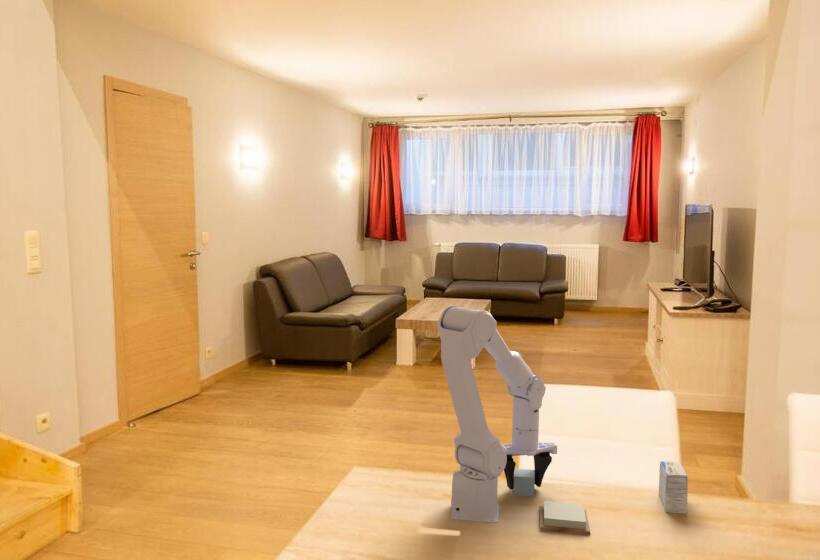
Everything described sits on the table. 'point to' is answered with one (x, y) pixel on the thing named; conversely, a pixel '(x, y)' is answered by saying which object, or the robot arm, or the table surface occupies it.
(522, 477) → the cube
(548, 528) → the tower base
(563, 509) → the tower top
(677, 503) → the medicine box
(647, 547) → the table surface
